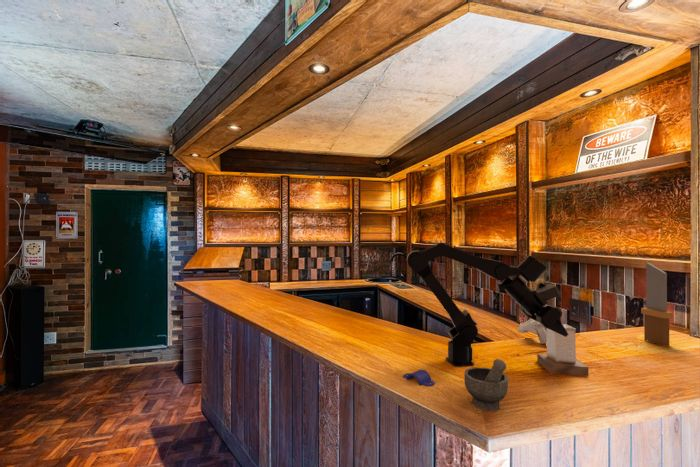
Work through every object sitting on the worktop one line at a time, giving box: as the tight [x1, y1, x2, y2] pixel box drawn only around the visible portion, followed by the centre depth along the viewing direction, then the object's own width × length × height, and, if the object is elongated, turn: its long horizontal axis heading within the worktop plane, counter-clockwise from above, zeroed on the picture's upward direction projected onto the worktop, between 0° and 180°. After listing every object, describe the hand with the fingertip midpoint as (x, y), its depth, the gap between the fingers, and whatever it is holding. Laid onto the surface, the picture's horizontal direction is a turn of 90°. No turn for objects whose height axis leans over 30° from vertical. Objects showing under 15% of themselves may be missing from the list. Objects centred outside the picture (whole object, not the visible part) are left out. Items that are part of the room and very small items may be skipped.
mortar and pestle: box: [463, 358, 509, 412], centre depth 81 cm, size 11×9×12 cm
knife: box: [640, 262, 674, 346], centre depth 131 cm, size 8×4×30 cm, turn 9°
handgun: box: [517, 318, 547, 345], centre depth 136 cm, size 20×4×11 cm, turn 1°
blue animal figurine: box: [402, 369, 436, 387], centre depth 95 cm, size 9×5×3 cm, turn 43°
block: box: [536, 353, 589, 376], centre depth 105 cm, size 10×10×3 cm
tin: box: [546, 323, 577, 363], centre depth 105 cm, size 6×6×10 cm
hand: (559, 331), depth 105 cm, fingers open, 9 cm apart
